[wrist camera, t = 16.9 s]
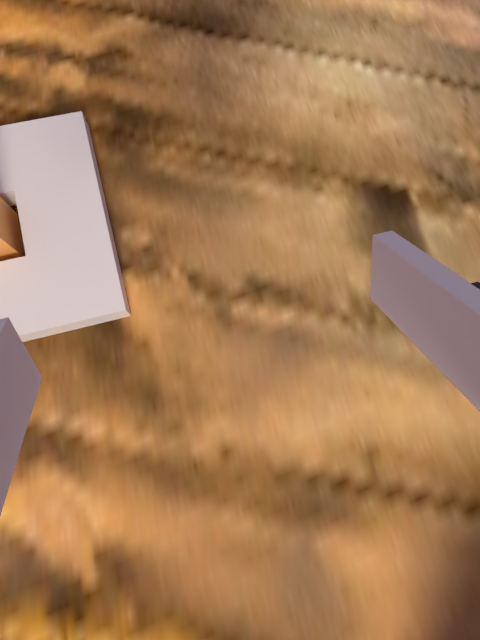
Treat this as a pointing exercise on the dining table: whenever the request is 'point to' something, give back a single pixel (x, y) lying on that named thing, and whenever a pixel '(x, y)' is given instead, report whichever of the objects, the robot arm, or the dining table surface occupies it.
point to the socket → (57, 230)
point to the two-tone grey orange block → (10, 233)
